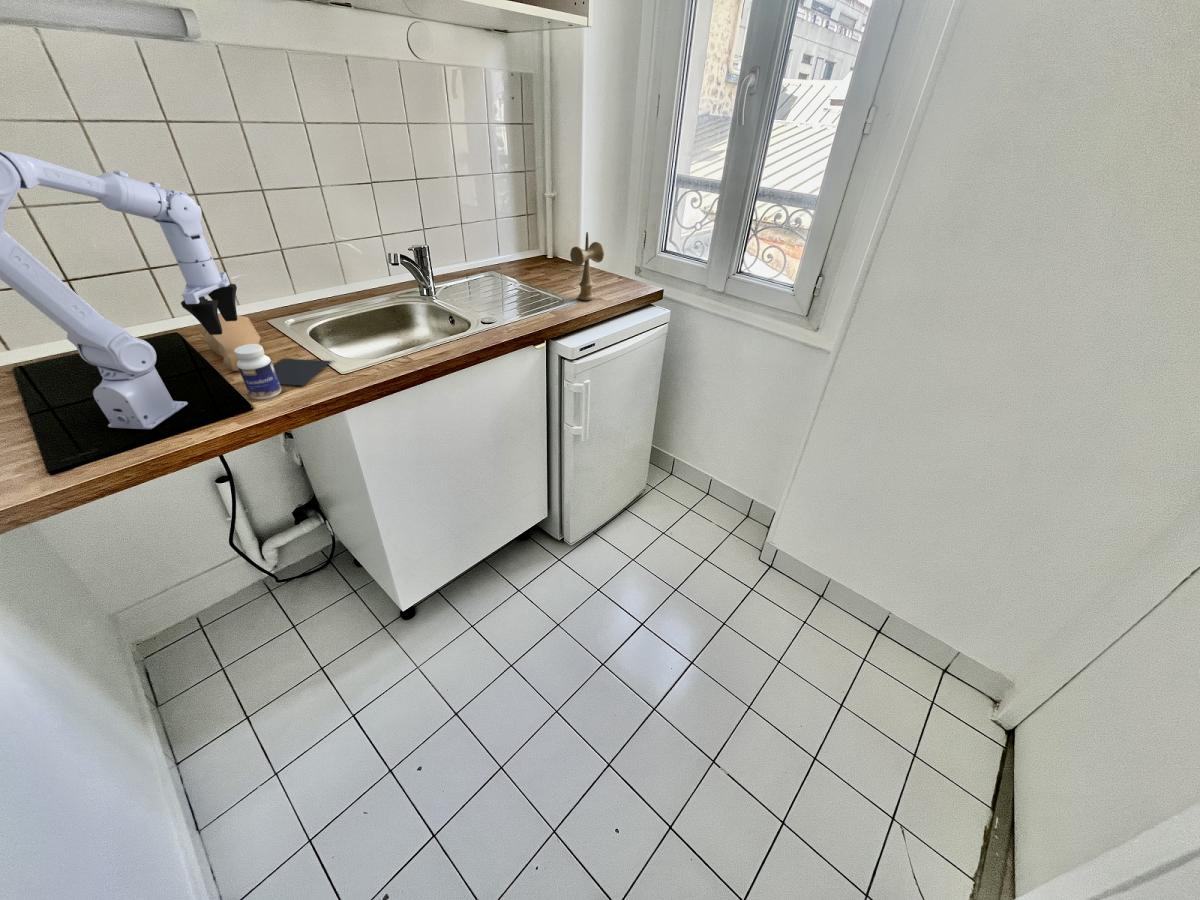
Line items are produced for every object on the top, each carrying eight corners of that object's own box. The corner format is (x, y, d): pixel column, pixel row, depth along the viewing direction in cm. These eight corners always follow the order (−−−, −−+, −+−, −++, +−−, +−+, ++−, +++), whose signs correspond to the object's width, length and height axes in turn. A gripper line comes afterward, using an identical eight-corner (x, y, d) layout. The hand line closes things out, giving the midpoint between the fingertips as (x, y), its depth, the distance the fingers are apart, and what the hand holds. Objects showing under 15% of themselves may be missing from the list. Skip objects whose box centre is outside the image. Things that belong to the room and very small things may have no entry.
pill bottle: (252, 403, 96) (231, 356, 91) (248, 391, 100) (229, 346, 94) (284, 395, 99) (267, 350, 94) (280, 384, 103) (262, 340, 97)
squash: (256, 338, 122) (251, 304, 117) (274, 377, 111) (269, 341, 106) (202, 341, 116) (193, 305, 111) (216, 383, 105) (207, 344, 100)
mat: (302, 386, 102) (301, 385, 102) (250, 384, 103) (250, 382, 102) (330, 362, 112) (329, 360, 112) (283, 360, 112) (282, 358, 112)
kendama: (603, 298, 156) (605, 231, 145) (581, 304, 150) (582, 235, 139) (590, 293, 159) (591, 228, 148) (568, 299, 154) (568, 232, 142)
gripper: (201, 269, 88) (231, 339, 96) (233, 250, 100) (258, 314, 108) (156, 270, 87) (191, 341, 95) (194, 250, 99) (222, 315, 106)
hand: (224, 327), depth 101 cm, fingers open, 7 cm apart
